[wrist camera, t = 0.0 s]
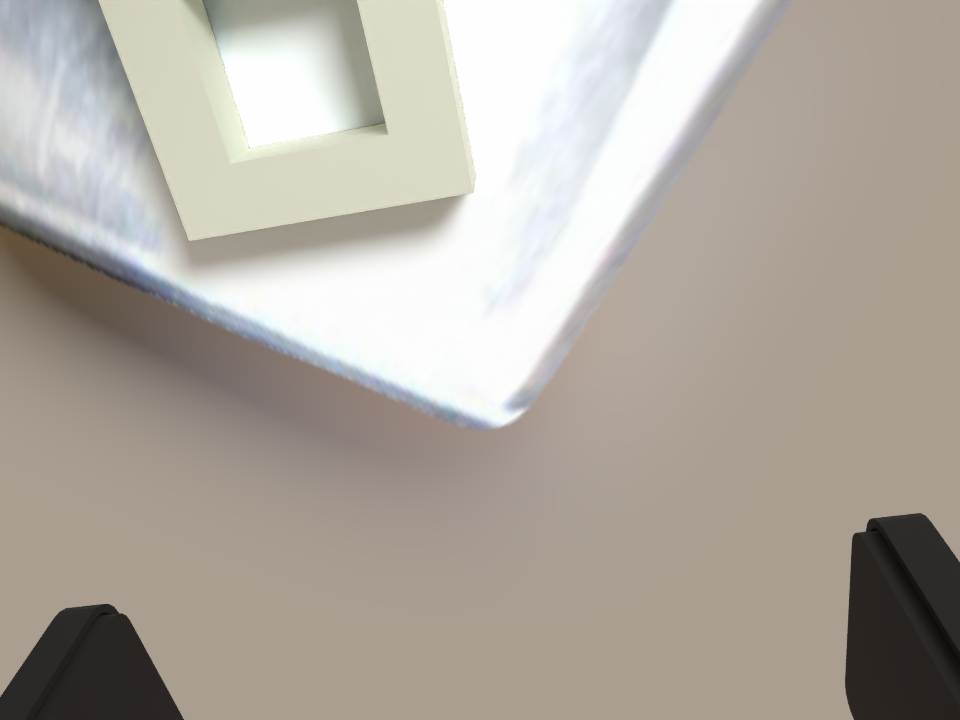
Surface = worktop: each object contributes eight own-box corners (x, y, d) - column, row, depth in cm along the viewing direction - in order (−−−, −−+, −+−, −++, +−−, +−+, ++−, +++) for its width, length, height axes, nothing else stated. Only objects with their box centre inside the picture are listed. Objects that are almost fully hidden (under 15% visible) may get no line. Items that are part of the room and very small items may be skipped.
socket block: (100, -85, 34) (65, -87, 31) (413, -156, 32) (404, -164, 30) (210, 221, 40) (189, 241, 38) (475, 175, 39) (472, 192, 36)
